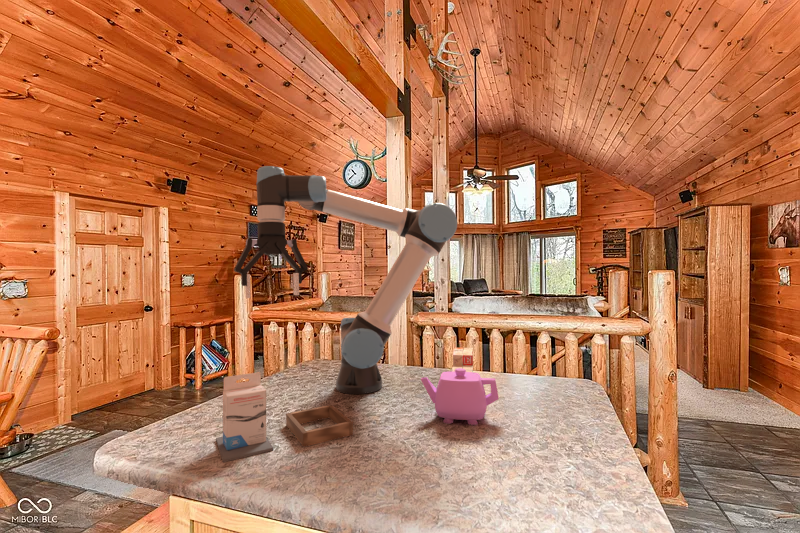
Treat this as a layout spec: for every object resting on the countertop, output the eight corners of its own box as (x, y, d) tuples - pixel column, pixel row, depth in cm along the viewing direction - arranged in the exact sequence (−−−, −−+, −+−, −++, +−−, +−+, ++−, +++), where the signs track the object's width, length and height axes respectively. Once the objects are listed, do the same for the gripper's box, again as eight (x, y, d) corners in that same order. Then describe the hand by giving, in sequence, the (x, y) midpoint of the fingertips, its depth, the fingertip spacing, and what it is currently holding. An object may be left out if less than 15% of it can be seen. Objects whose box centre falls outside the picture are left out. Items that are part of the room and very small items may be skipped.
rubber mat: (261, 430, 96) (261, 428, 96) (273, 450, 86) (273, 447, 86) (216, 440, 91) (216, 437, 91) (223, 462, 81) (223, 459, 81)
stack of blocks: (473, 405, 113) (472, 362, 113) (451, 404, 114) (450, 361, 114) (473, 383, 134) (473, 347, 134) (454, 382, 135) (454, 346, 135)
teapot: (497, 411, 108) (496, 364, 108) (500, 429, 96) (500, 377, 96) (424, 407, 111) (423, 362, 111) (418, 424, 99) (418, 374, 99)
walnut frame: (331, 415, 105) (331, 404, 105) (353, 434, 93) (353, 422, 93) (286, 425, 99) (286, 413, 99) (303, 447, 87) (303, 433, 87)
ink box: (226, 451, 84) (225, 382, 84) (222, 443, 88) (221, 377, 88) (267, 441, 89) (266, 376, 89) (261, 433, 93) (261, 371, 93)
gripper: (308, 225, 123) (310, 293, 123) (222, 221, 110) (223, 298, 110) (317, 222, 117) (319, 294, 117) (226, 218, 103) (228, 299, 103)
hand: (273, 296), depth 113 cm, fingers open, 13 cm apart
